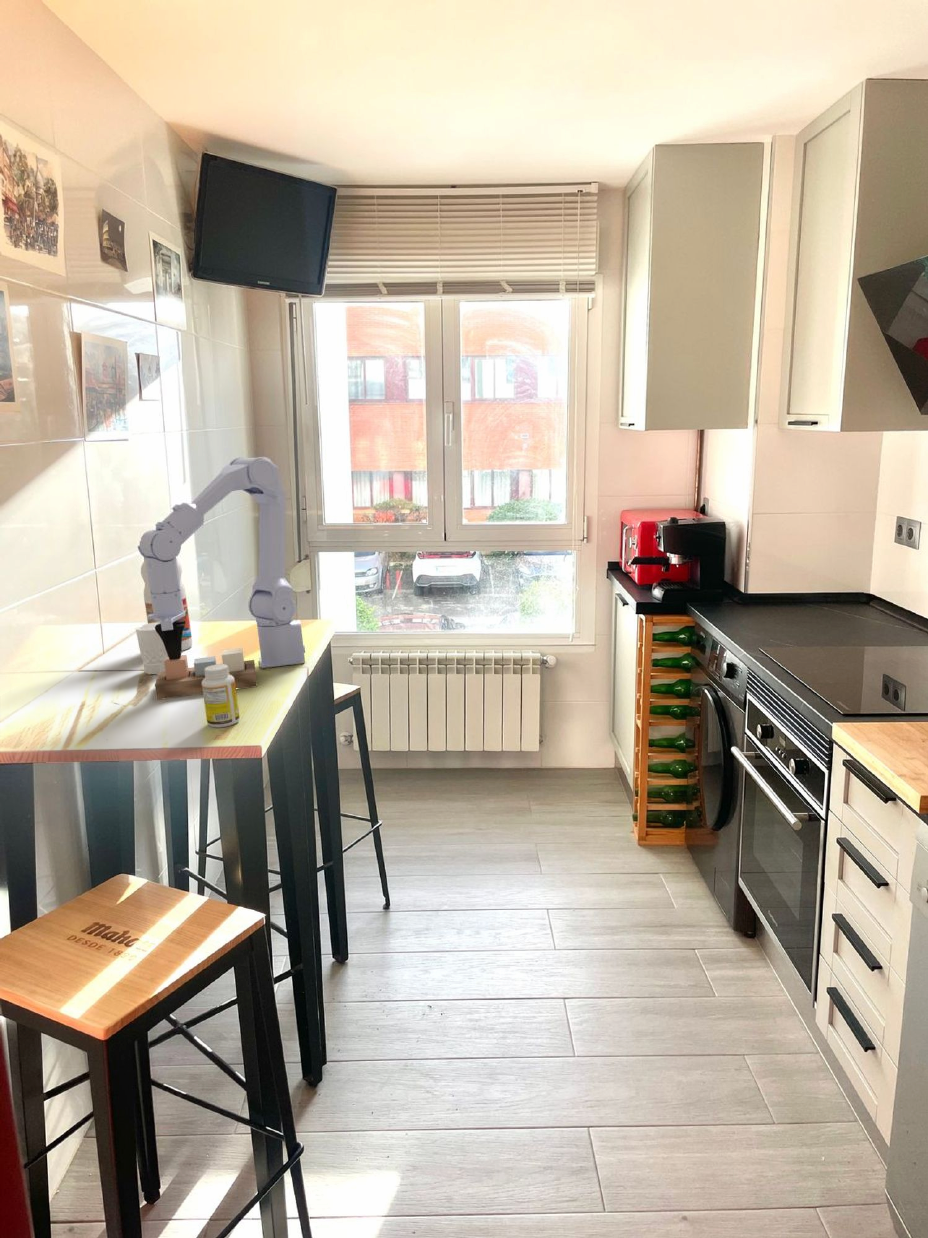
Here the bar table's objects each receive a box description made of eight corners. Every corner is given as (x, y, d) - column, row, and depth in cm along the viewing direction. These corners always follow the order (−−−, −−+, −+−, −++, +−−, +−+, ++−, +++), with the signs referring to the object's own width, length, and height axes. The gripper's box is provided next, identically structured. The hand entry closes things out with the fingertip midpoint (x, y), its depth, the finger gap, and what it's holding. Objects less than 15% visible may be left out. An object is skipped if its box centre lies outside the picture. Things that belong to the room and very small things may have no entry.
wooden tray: (255, 673, 191) (254, 659, 190) (256, 686, 181) (254, 671, 181) (161, 685, 187) (159, 671, 186) (156, 699, 177) (154, 684, 177)
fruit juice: (153, 646, 222) (136, 532, 216) (194, 642, 224) (178, 528, 218) (150, 656, 213) (132, 536, 207) (191, 651, 215) (175, 532, 209)
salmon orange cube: (189, 673, 185) (186, 654, 184) (188, 679, 181) (185, 659, 180) (168, 676, 184) (165, 657, 183) (167, 681, 180) (164, 662, 179)
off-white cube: (244, 666, 187) (242, 648, 186) (244, 671, 183) (242, 652, 182) (224, 669, 186) (222, 650, 185) (224, 674, 182) (221, 655, 182)
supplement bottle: (227, 716, 164) (220, 661, 162) (246, 721, 160) (239, 665, 158) (200, 725, 160) (193, 669, 158) (219, 730, 156) (211, 673, 154)
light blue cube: (217, 675, 186) (215, 656, 185) (217, 680, 182) (214, 661, 181) (197, 677, 185) (194, 658, 184) (196, 683, 182) (193, 663, 181)
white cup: (168, 675, 194) (161, 630, 192) (135, 676, 196) (128, 630, 194) (186, 665, 202) (180, 621, 200) (154, 665, 204) (147, 622, 201)
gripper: (147, 587, 185) (157, 652, 188) (140, 600, 171) (150, 670, 174) (184, 583, 186) (192, 648, 189) (179, 595, 172) (189, 665, 175)
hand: (175, 658), depth 182 cm, fingers closed
